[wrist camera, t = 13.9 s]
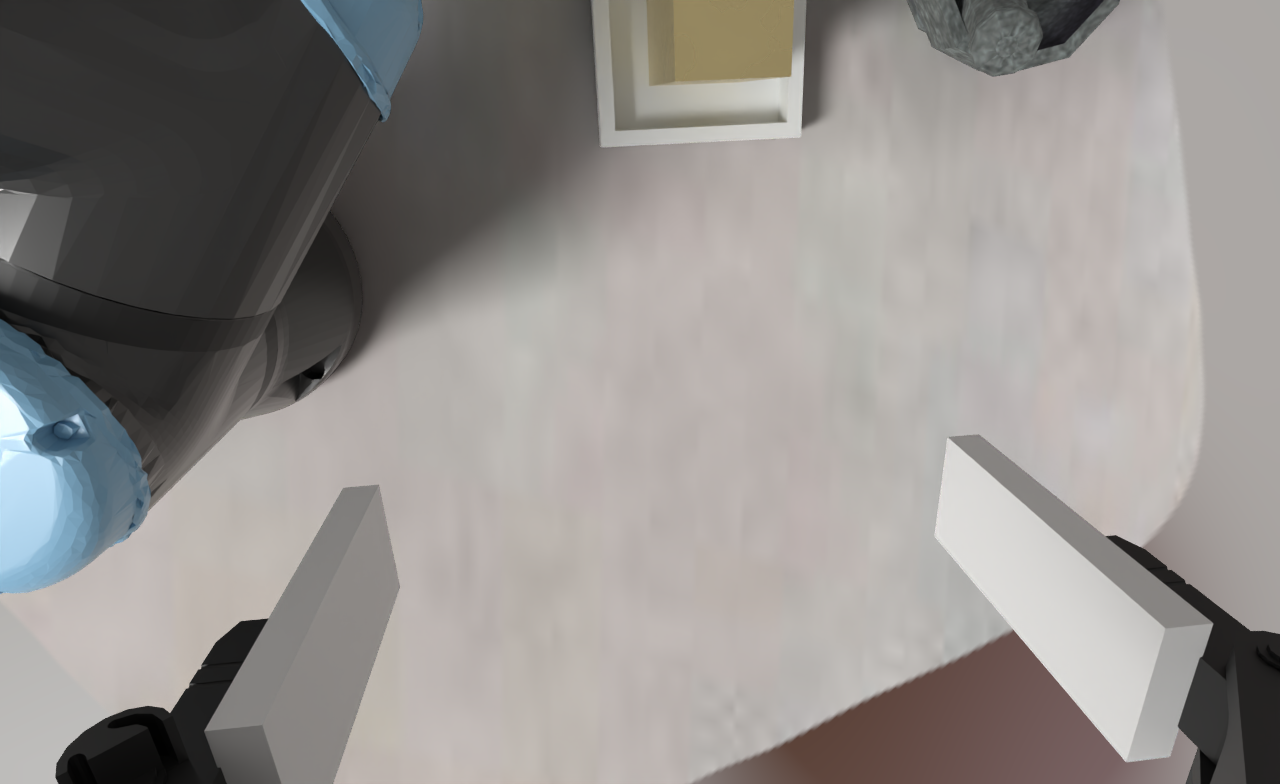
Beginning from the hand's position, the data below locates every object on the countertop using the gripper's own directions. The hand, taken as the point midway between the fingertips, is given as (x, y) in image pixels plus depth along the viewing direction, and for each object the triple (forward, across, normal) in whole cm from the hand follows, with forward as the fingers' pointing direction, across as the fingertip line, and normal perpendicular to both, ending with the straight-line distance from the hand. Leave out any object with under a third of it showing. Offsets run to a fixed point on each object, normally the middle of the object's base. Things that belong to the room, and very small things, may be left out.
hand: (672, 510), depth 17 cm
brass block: (+28, +5, +12) cm, 31 cm away
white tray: (+29, +6, +12) cm, 32 cm away
